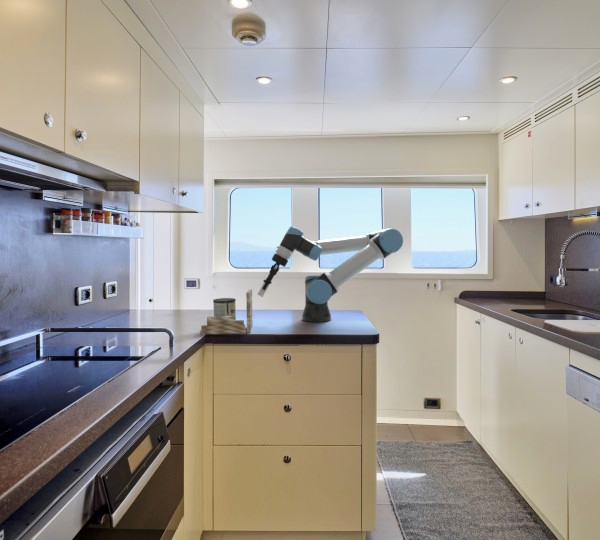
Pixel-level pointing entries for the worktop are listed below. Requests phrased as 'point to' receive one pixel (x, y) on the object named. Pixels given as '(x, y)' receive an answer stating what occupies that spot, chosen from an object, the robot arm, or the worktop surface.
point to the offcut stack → (223, 323)
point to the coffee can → (224, 307)
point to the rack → (249, 318)
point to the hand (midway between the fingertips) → (260, 294)
